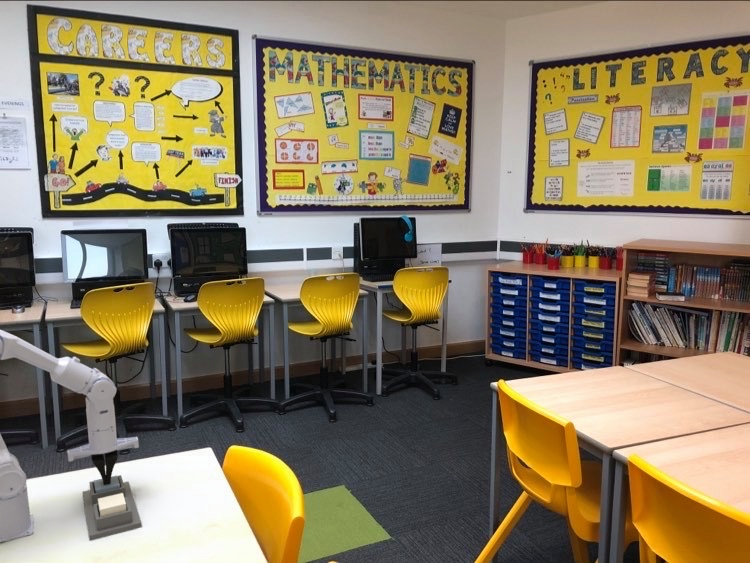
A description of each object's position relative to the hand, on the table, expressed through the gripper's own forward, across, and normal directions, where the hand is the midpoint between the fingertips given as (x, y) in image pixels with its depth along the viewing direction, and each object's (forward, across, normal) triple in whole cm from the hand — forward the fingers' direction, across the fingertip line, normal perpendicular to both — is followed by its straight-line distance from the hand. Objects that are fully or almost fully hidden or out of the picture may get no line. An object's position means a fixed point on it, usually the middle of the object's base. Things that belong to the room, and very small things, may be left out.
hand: (106, 482), depth 141 cm
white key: (+1, 0, +11) cm, 11 cm away
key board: (+4, 0, +6) cm, 7 cm away
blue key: (+2, 0, 0) cm, 2 cm away
